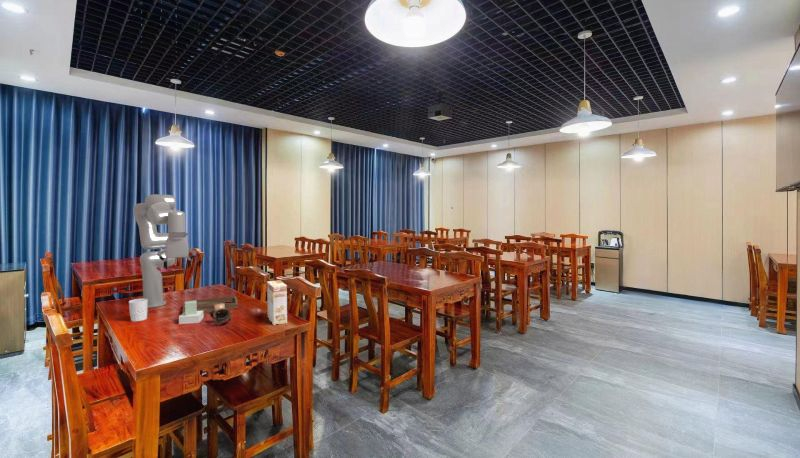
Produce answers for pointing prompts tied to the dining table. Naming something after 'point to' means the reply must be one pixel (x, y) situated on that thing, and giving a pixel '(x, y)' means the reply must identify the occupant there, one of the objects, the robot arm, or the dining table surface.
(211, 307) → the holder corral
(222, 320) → the pottery mug
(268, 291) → the coffeecake box
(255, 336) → the dining table surface
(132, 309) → the white cup
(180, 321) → the base slab
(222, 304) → the glossy beige egg
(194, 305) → the green block
